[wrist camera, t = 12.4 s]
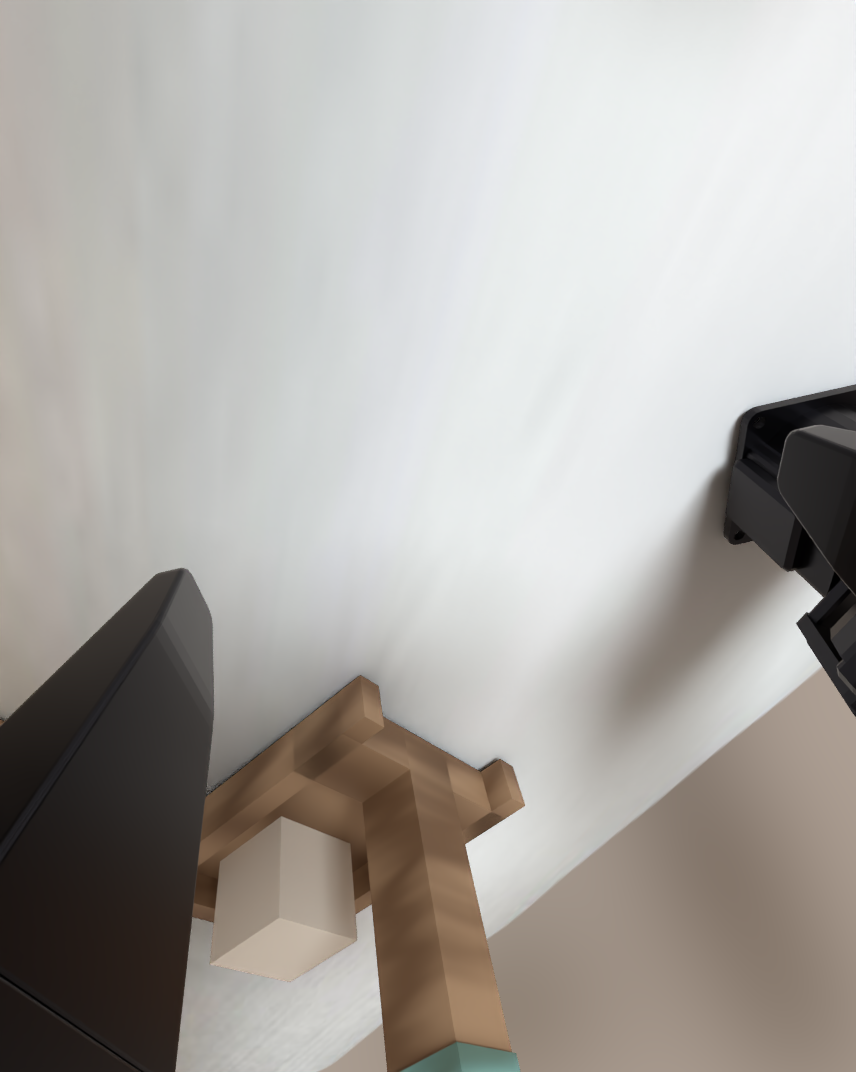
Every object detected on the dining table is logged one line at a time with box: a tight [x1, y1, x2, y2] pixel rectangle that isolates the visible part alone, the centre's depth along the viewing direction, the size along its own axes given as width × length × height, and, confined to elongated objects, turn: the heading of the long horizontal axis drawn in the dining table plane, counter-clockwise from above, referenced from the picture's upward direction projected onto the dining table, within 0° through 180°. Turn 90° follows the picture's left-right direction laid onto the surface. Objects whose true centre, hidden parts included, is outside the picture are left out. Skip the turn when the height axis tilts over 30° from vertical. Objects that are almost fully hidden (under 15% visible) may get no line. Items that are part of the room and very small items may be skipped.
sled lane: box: [192, 675, 525, 1072], centre depth 28 cm, size 17×12×14 cm
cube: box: [210, 816, 357, 982], centre depth 32 cm, size 5×5×5 cm
